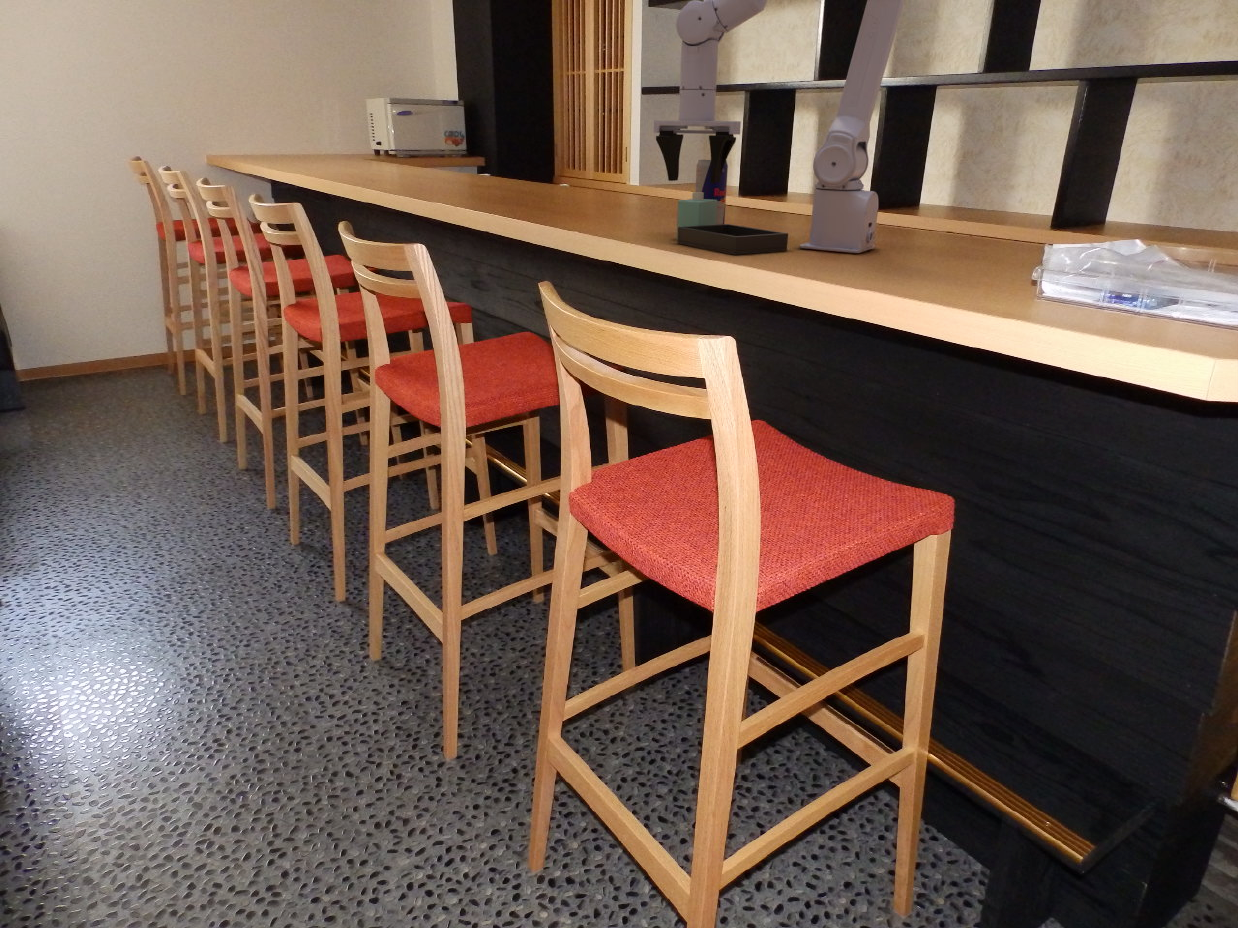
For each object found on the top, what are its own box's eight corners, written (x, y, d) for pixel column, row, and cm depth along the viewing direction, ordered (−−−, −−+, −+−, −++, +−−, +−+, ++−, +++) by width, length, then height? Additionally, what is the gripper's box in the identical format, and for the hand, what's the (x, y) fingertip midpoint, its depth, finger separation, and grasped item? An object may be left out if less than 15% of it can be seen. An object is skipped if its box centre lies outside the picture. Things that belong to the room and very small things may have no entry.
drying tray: (786, 251, 127) (788, 233, 126) (735, 255, 122) (736, 237, 121) (726, 240, 138) (727, 224, 137) (677, 243, 133) (677, 227, 132)
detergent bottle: (715, 238, 140) (717, 192, 137) (697, 242, 135) (699, 194, 133) (694, 236, 142) (696, 191, 139) (676, 240, 137) (678, 192, 135)
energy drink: (722, 234, 145) (726, 161, 141) (691, 233, 146) (694, 160, 142) (725, 231, 150) (729, 160, 145) (695, 230, 151) (698, 159, 146)
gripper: (750, 91, 131) (744, 182, 137) (669, 92, 138) (666, 178, 144) (731, 89, 126) (726, 184, 131) (648, 90, 133) (645, 180, 138)
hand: (693, 181), depth 137 cm, fingers open, 7 cm apart
